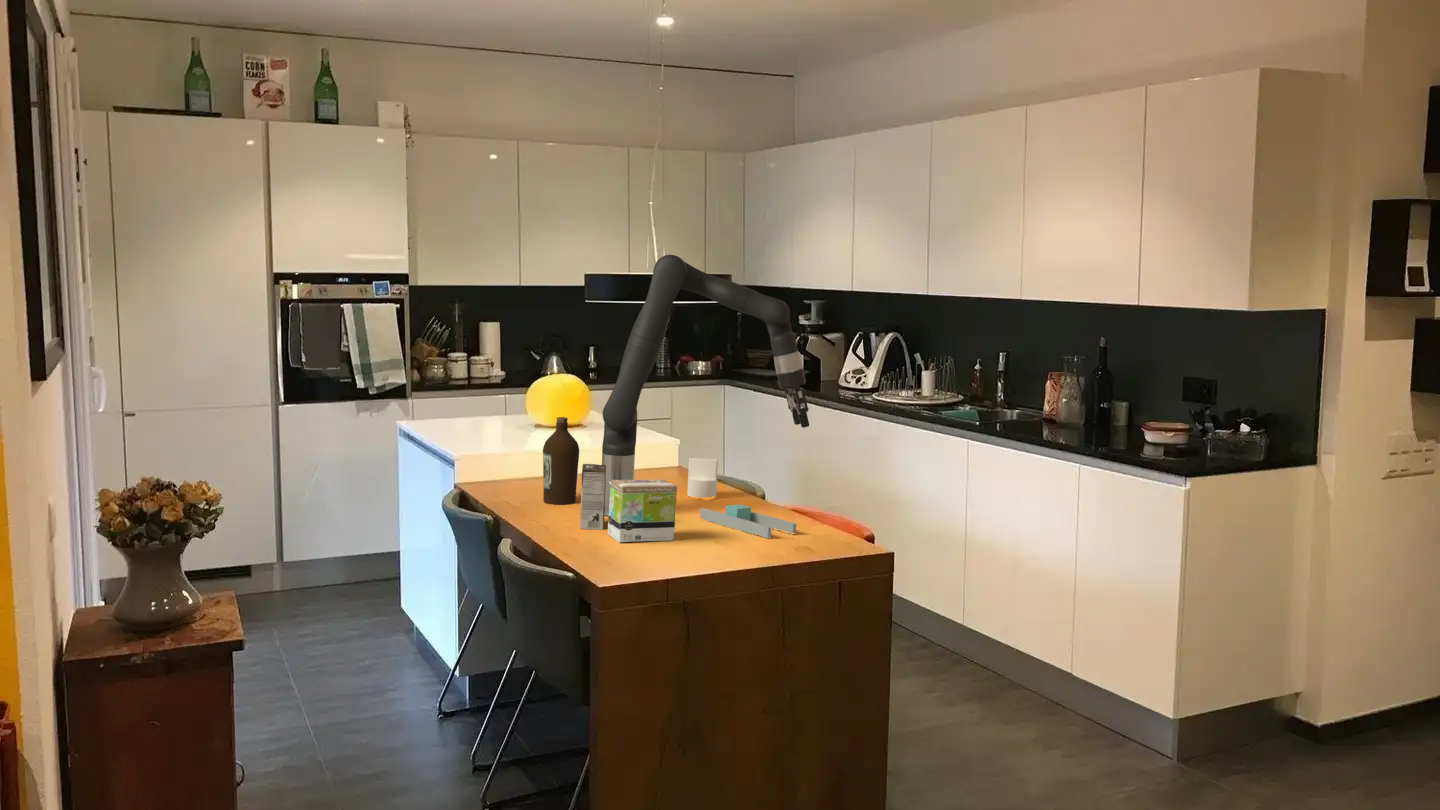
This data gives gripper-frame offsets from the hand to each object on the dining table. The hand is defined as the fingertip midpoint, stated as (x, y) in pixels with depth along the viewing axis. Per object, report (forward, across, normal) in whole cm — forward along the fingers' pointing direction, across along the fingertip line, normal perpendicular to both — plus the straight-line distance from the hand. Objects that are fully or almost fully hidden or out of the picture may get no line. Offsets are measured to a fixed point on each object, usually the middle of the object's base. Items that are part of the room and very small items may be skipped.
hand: (802, 425), depth 322 cm
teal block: (+22, +3, -25) cm, 33 cm away
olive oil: (+8, -25, -71) cm, 76 cm away
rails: (+23, +6, -23) cm, 33 cm away
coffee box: (+11, +7, -64) cm, 65 cm away
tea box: (+15, +21, -52) cm, 58 cm away
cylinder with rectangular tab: (+19, -36, -29) cm, 50 cm away
